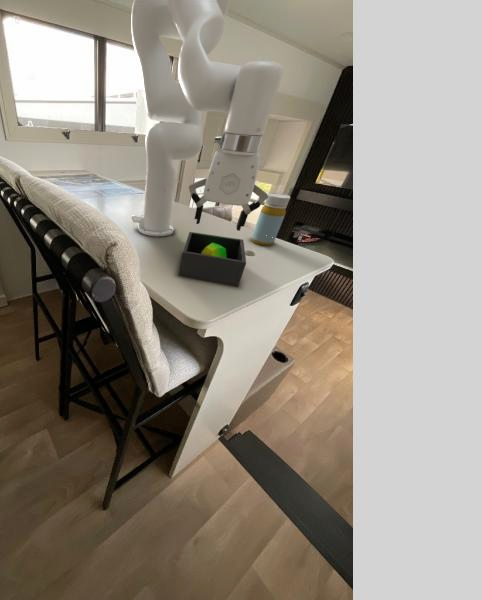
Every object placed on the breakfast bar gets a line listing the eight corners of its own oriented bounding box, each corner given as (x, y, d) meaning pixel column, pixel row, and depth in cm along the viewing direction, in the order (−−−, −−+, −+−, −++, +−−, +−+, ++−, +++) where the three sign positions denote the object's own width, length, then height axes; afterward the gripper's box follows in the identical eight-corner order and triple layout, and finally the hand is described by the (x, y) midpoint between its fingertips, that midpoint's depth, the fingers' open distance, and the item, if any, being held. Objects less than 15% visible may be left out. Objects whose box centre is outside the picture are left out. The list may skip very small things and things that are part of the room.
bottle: (275, 247, 81) (295, 199, 73) (252, 244, 82) (269, 197, 74) (270, 239, 87) (287, 193, 78) (249, 237, 88) (264, 191, 79)
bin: (178, 275, 64) (182, 252, 60) (185, 252, 76) (189, 231, 72) (237, 287, 61) (246, 262, 57) (236, 261, 72) (243, 239, 68)
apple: (227, 236, 66) (200, 241, 62) (236, 259, 65) (209, 264, 61) (210, 248, 72) (185, 253, 69) (218, 269, 71) (192, 274, 68)
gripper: (195, 142, 50) (180, 224, 61) (289, 150, 47) (255, 237, 57) (199, 139, 56) (184, 215, 67) (282, 146, 52) (253, 226, 63)
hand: (217, 225), depth 62 cm, fingers open, 9 cm apart
